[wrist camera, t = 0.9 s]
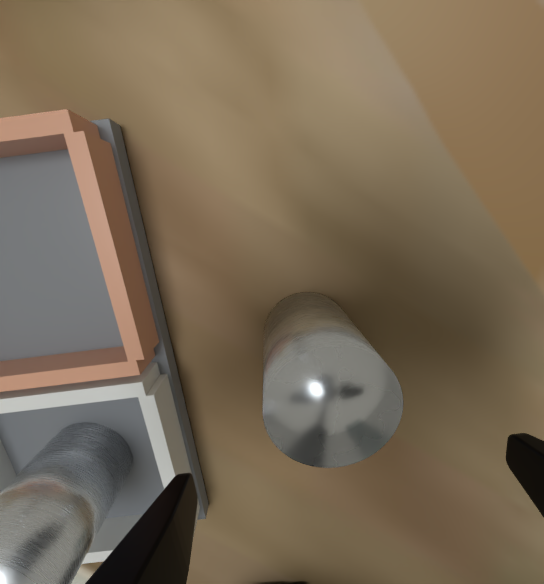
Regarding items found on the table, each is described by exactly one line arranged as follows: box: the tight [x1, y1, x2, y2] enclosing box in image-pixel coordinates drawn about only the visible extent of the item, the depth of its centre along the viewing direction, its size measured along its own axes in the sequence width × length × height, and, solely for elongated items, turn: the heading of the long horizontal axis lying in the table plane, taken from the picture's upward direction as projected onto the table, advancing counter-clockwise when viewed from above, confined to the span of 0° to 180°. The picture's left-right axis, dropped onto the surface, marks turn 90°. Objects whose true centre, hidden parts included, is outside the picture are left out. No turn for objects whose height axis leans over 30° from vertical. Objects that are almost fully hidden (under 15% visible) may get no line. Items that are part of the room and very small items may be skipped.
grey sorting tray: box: [0, 109, 209, 564], centre depth 16 cm, size 24×12×3 cm, turn 7°
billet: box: [0, 422, 133, 584], centre depth 14 cm, size 5×5×7 cm
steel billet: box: [263, 292, 403, 468], centre depth 13 cm, size 5×5×7 cm
